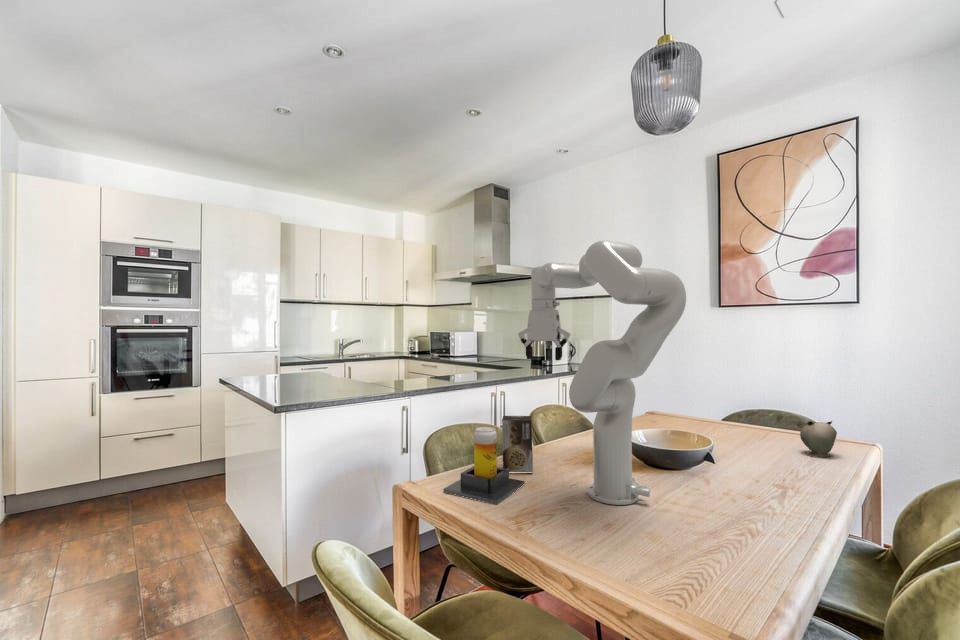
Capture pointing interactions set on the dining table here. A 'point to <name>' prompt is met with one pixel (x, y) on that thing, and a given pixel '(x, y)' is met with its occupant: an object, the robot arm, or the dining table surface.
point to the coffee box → (517, 443)
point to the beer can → (485, 452)
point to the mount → (485, 486)
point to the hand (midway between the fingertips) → (543, 359)
